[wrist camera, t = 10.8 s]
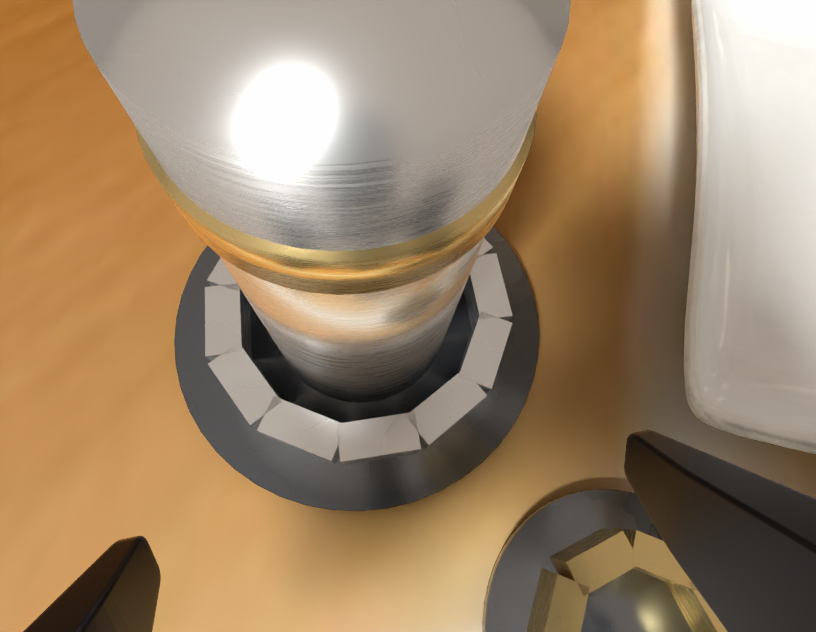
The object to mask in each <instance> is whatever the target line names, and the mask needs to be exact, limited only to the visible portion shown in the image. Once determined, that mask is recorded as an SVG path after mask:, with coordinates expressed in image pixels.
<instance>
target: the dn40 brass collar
mask: <svg viewBox="0 0 816 632" xmlns="http://www.w3.org/2000/svg"><path fill="white" fill-rule="evenodd" d="M482 627H483V632H727V630H726V629H725V627H724V626H723V625H722V623H721V622H720V620H719V619H718V618H717V616H716V615H715V613H714V612H713V611H712V609H711V608H710V607H709V605H708V604H707V602H706V601H705V600H704V598H703V597H702V595H701V594H700V593H699V591H698V590H697V588H696V587H695V586H694V584H693V583H692V582H691V580H690V579H689V577H688V576H687V575H686V573H685V572H684V570H683V569H682V568H681V566H680V565H679V563H678V562H677V561H676V559H675V558H674V556H673V555H672V553H671V552H670V550H669V549H668V547H667V545H666V544H665V542H664V541H663V539H662V537H661V536H660V534H659V532H658V530H657V529H656V527H655V525H654V524H653V522H652V520H651V519H650V517H649V515H648V513H647V512H646V510H645V508H644V507H643V505H642V503H641V501H640V500H639V498H638V496H637V495H636V494H635V493H631V492H625V491H620V490H602V489H601V490H589V491H579V492H575V493H572V494H568V495H564V496H562V497H559V498H557V499H555V500H552V501H550V502H548V503H547V504H545V505H543V506H542V507H540V508H539V509H537V510H536V511H534V512H533V513H532V514H531V515H530V516H528V517H527V518H526V519H525V520H524V521H523V522H522V523H521V524H520V525H519V526H518V527H517V529H516V530H515V531H514V532H513V533H512V535H511V536H510V538H509V539H508V541H507V542H506V544H505V545H504V547H503V548H502V550H501V552H500V554H499V556H498V558H497V561H496V563H495V565H494V568H493V571H492V574H491V577H490V579H489V582H488V587H487V592H486V597H485V601H484V611H483V622H482Z"/></svg>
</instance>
